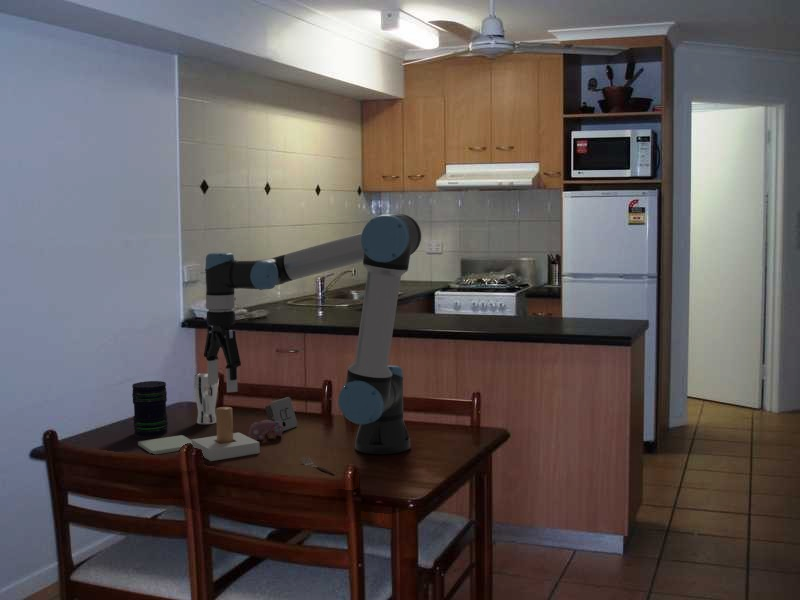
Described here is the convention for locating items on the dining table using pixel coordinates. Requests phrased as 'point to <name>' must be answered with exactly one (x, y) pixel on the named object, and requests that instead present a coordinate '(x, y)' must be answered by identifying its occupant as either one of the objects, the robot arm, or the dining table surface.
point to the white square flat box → (226, 447)
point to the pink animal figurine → (265, 429)
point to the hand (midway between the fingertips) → (222, 387)
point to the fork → (316, 466)
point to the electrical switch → (282, 413)
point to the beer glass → (205, 399)
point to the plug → (224, 425)
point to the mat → (164, 444)
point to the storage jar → (150, 409)
